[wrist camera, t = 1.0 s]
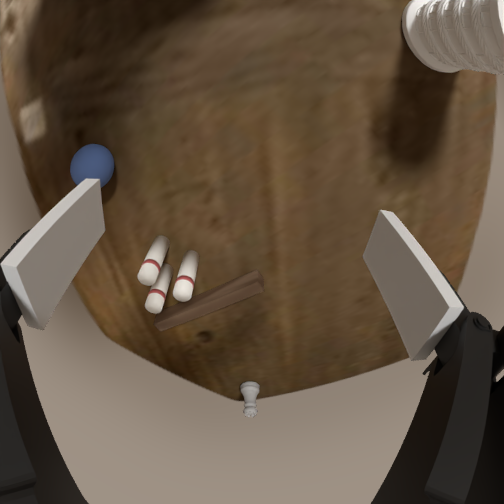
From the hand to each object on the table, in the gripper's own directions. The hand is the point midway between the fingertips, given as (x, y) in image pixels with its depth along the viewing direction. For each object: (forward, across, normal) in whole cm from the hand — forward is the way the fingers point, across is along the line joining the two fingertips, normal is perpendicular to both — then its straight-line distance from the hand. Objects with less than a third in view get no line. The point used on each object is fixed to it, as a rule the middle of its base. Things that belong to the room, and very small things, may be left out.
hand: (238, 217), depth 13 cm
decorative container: (+25, +24, +20) cm, 40 cm away
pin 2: (+24, -5, -20) cm, 32 cm away
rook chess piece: (+24, +8, -55) cm, 60 cm away
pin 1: (+24, -9, -23) cm, 35 cm away
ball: (+22, -19, -6) cm, 29 cm away
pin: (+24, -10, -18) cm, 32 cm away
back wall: (+24, -3, -28) cm, 37 cm away
